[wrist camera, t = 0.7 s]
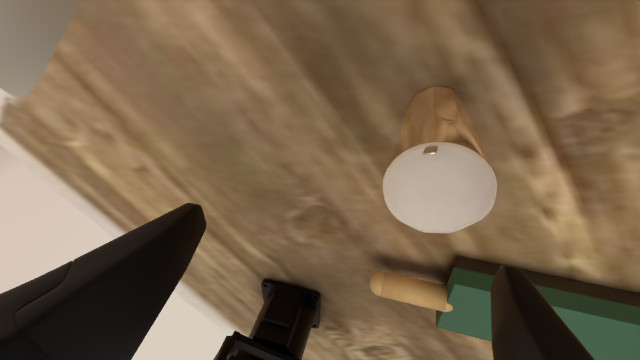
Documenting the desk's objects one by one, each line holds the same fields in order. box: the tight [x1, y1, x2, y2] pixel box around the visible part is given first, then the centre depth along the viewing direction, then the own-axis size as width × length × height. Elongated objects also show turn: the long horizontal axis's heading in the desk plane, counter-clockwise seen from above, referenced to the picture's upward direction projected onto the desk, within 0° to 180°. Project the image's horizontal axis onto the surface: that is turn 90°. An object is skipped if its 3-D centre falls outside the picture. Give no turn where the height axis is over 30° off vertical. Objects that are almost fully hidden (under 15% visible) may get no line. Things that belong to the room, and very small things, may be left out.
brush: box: [370, 257, 640, 360], centre depth 26 cm, size 22×6×3 cm, turn 89°
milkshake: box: [383, 86, 497, 233], centre depth 16 cm, size 4×5×10 cm
